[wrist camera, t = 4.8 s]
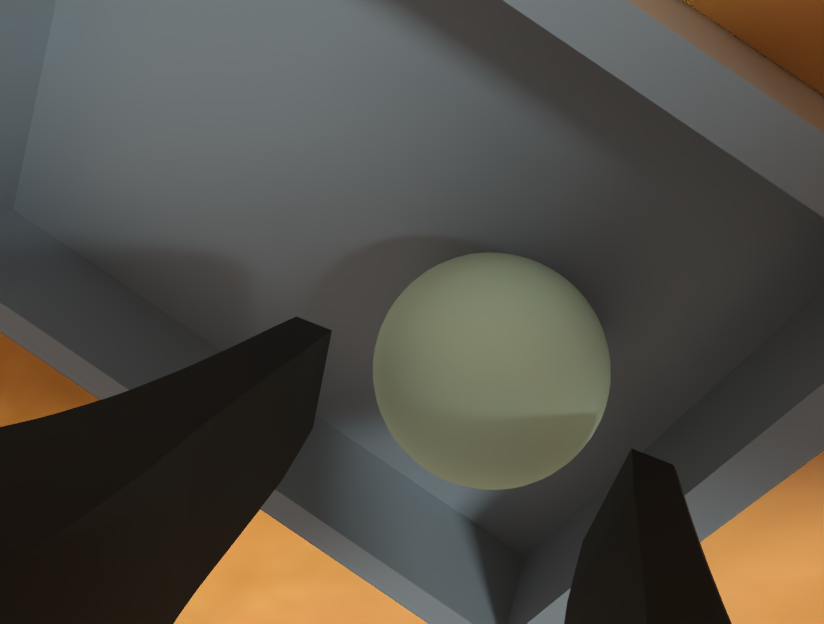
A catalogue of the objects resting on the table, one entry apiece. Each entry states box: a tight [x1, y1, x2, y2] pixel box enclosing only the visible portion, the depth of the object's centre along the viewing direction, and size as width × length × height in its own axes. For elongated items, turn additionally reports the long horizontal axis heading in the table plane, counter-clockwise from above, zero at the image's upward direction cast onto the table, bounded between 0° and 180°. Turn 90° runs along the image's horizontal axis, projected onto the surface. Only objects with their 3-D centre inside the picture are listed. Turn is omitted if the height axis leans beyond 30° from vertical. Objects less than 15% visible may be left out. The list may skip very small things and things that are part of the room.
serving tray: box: [0, 0, 824, 624], centre depth 14 cm, size 16×12×3 cm
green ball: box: [373, 252, 611, 490], centre depth 13 cm, size 4×4×4 cm
